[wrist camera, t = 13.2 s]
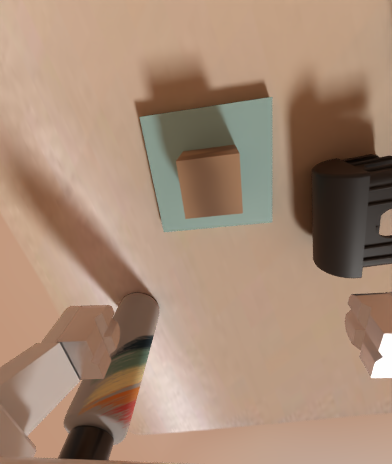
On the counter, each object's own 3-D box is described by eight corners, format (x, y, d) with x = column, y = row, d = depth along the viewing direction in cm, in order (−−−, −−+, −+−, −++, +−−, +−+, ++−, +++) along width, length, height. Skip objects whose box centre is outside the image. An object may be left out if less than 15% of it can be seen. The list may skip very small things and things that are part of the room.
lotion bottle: (129, 324, 37) (50, 526, 19) (114, 295, 35) (7, 494, 17) (165, 318, 36) (116, 526, 18) (152, 288, 34) (81, 492, 16)
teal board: (269, 97, 23) (272, 96, 22) (270, 217, 28) (272, 222, 27) (142, 116, 24) (139, 116, 23) (165, 227, 29) (163, 232, 28)
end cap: (300, 162, 25) (327, 180, 19) (376, 147, 24) (430, 161, 18) (303, 247, 29) (326, 283, 23) (368, 237, 28) (410, 273, 22)
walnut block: (234, 144, 24) (239, 153, 19) (238, 194, 26) (242, 213, 21) (183, 151, 24) (175, 161, 20) (190, 200, 26) (185, 219, 22)
